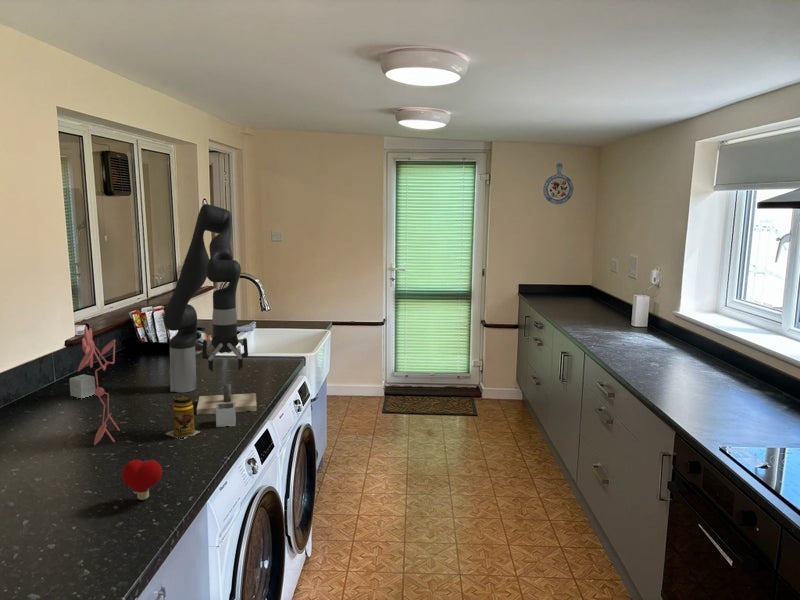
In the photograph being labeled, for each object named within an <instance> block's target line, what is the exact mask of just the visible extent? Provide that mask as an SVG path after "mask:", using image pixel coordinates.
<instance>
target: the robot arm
mask: <svg viewBox="0 0 800 600" xmlns="http://www.w3.org/2000/svg"><path fill="white" fill-rule="evenodd" d="M197 215H198V216H197V219H196V222H195V225H194V226H195V227H194V230H193V234H192V238H191V241H190V244H189V247H188V250H187V253H186V255H185V258H184V261H183V263H182V267H181V270H180V274H179V277H178V279H177V283H176V285H175V287H174V291H173V293H172V295H171V298H170V299H169V302H168V303H167V306H166V308H165V310H164V314H163V323H164V326H165V328H166V329H167V330H169V331H172V332H175V331H177V333H176V334H175V335H173V336H172V337H171V339H169V363H170V365H169V387H170V388H169V389H170V391H169V392H170V393H174V392H175V393H188V392H192V391H195V390H196V389H197V368H196V367H197V366H196V365H197V363H196V359H197V358H196V355H195V341H196V338H197V331H198V315H197V311H196V309H195V307H194V306H193V305H191V304H189V302H190V300H191V299H192V297H194V296H195V294H197V292H198V291H199V290H200V289H201V288H202V286H203V285H204V283H205V282H206V280H207V279H208V281H210V282H211V283H228V285H227V286H226V287H224V288H219V289H216V290H214V291H213V293H212V308H213V309H212V314H211V315H212V317H211V318H212V319H211V320H212V340H206V339H204V340H203V350H202V352H201V353H202V355H201V356H202V357H201V358H202V359H203V360H207V361H208V370H209V371H210V372H212V373H213V372H214V358H215V356H216V355H217V354H218V353H220V354H224V353H226V354H227V353H228V354H230V353H233V354H234V355H235V356H236V357H237V366H238V368H237V369H238V370H237V371H241V369H243V366H244V363H243V362H244V361H243V360H244V358H248V357H249V349H248V339H247V337H243V338H238V318H237V317H238V316H237V315H238V314H237V307H236V306H237V305H236V301H237V300H236V299H237V298H236V295H237V289H238V288H237V287H238V284H239V280H240V277H241V273H242V267H241V264H240V263H239V262H238V261H237V260H235V259H233V251H232V244H231V243H232V231H233V230H232V227H233V225H232V223H233V218H232V217H233V216H232V213H231V211H230V210H228V209H226V208H224V207H223V208H222V207H219V206H215V205H212V204H208V203H205V204H203V205H202V206H201V207H200V209H199V212H198V214H197ZM205 231H206V232H211V233H213V234H214V233H215V234H217V235H215V236H214V237H213V238H212V239H211V240H210V243H209V245H208V246H209V247H208V248H209V254H208V251H207V248H206V244H205V241H204V240H205V239H204V237H205ZM239 344H240V345H241V346H242V347H243V353H241V351H240V350H239V349H238V345H239ZM210 345H212V346H213V347H214V348H213V350H212V351H211V352H210V354H208V353H207V352H208V347H210Z"/></svg>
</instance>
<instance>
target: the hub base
mask: <svg viewBox="0 0 800 600" xmlns="http://www.w3.org/2000/svg"><path fill="white" fill-rule="evenodd" d="M222 390H223V394H216V395H200V396H199V398H198V402H197V406H196V416H199V414H200V416H201V414H202V415H216V405H217V404H219V403H235V409H236V413H248V412H247V411H250V412H257V407H258V405H257V394H256V393H257V392H256V393H255V392H253V393H236V394H232V384H231V383H224V384H223V389H222Z"/></svg>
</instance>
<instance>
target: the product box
mask: <svg viewBox="0 0 800 600" xmlns="http://www.w3.org/2000/svg"><path fill="white" fill-rule="evenodd" d="M69 390H70V393H69V394H70V397H71V396H74V397H77V398H76V399H78V398H81V399H80V400H83V399H82V398H85V397H88V398H90V397H89V396H91V397H93V396H92V395H94V394H95V390H96V376H93V375H88V374H80V375H77V376H74V377H73V376H71V377H70V378H69ZM94 396H95V395H94ZM85 399H86V398H85Z"/></svg>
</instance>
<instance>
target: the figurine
mask: <svg viewBox="0 0 800 600" xmlns="http://www.w3.org/2000/svg"><path fill="white" fill-rule="evenodd" d="M83 331H84V333H83V335H84V336H83V338H81V345H82V346H81V348H82V351H83V353H85V354H84V356H83V358H82V360H81V361H80V363H79V366H78V368H77V372H78V373H79V372H80V371H81V370H82V369H84V367H85V366H86V365H88V364H89V367H90V369H92V368H93V366H94V357H95V358H96V360H97V361H98V364H99V365H100V367H99V368H97V369H95V371H94V375H95V376H94V377H95V385H96V387H95V395H94V396H97V397H98V398H99V400H100V402H101V403H102V404H103V412H102V424H101V425H100V427H99V428H98V429H97V432H96V434H95V438H94V441H93V442H94V443H93V445H94V446H96V445H97V444H98V443H99V442H100V441H101V440H102V438H103V436H104V434H105V433H106V434H107V435H108V437H109V438H110V439H111V441H112V443H115V442H116V440H115V439H114V437H113V436H112V435H111V433H110V432H109V431H108V429H107V423H106V422H107V421H108V420H110V421H111V422H112V424H113V426H114V427H115V428H116V430H117V431H118V432H120V428H119V427H118V425H117V423H116V422H115V420H114V419H113V418H112V417H111V416H112V415H113V413H112V412H110V406H109V405H110V399H109V398H110V395H109V392H105V391H106V390H105V389H104V388H103V387H101V386H100V387H99V380H98V372H99V371H100V370H101V369H102V370H103V372H105V371H106V369H107V366H108V365H110V364H111V365H114V364H115V361H116V360H115V358H116V341H117V339H112V340H111V341H110V342H108V343H107V344H105V346H104V347H103V348H102V350H101V352H100V350H99V349H98V347H96V344H95V342H94V340H93V339H94V338H93V330H92V327H89V328H88V326H87V325H86V326H84V330H83ZM111 349H112V361H107V359H106V358H105V357H104V355H105V354H106V353H107V352H109V351H110V350H111ZM98 354H99V356H100V358H101V359H102V360H103V361H104V364H103V363H102V361H101V359H100V358H99V356H98ZM104 394H105V395H107V396H106V397H107V401H106V402H107V415H106V418H105V413H106V412H105V411H106V403H105V402H104V401H103V399H102V398H101V397H102V396H103V395H104ZM123 423H124V424H126V422H123V421H122V422H121V424H123ZM72 436H75V433H72V435H70V436H69V437H68V439H70V437H72ZM64 449H65V450H66V449H68V450H70V451H71V452H72V451H73V452H75V453H76V452H77V451H76V450H73V449H70V448H68V447H66V446H65V447H64Z"/></svg>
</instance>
